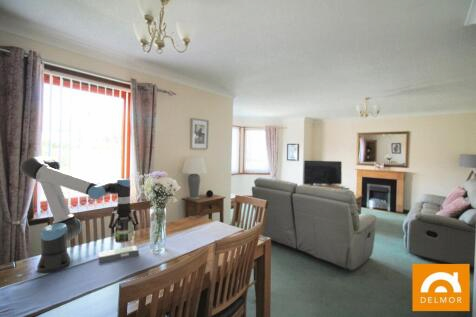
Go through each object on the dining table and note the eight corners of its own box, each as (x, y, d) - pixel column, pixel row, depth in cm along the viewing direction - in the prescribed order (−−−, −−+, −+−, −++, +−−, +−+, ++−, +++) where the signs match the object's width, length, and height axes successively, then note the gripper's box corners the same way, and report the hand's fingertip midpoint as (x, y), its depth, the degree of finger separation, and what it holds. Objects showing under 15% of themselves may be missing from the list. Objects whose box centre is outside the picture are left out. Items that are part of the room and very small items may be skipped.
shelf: (98, 263, 141) (98, 257, 141) (98, 255, 152) (98, 250, 152) (138, 255, 153) (138, 250, 152) (135, 248, 163) (135, 243, 163)
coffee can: (120, 244, 147) (120, 222, 147) (112, 240, 153) (112, 219, 153) (135, 239, 155) (135, 218, 155) (127, 236, 162) (127, 215, 161)
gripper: (104, 205, 145) (104, 241, 145) (143, 202, 156) (143, 235, 157) (103, 203, 151) (103, 238, 152) (141, 200, 163) (141, 232, 163)
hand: (124, 236), depth 154 cm, fingers closed on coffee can, 10 cm apart
